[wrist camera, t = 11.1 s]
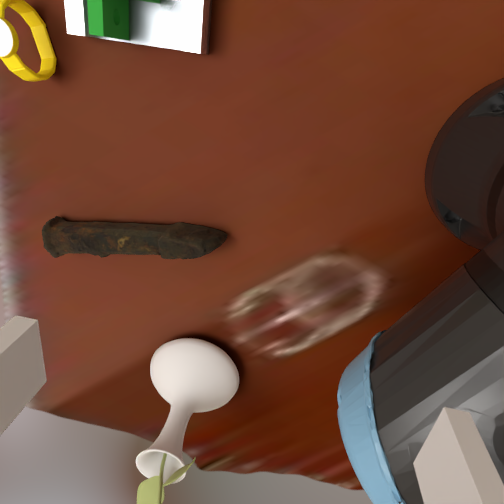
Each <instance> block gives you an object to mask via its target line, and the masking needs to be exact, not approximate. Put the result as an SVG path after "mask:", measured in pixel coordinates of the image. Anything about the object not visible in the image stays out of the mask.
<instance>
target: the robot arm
mask: <svg viewBox="0 0 504 504" xmlns="http://www.w3.org/2000/svg"><path fill="white" fill-rule="evenodd" d="M425 188H426V194H427V198H428V201H429V204H430V206H431V208H432V210H433V212H434V214H435V215H436V217H437V218H438V219H439V220H440V222H441V223H442V224H443V225H444V226H445V227H446V228H447V229H448V230H449V231H450V232H451V233H452V234H453V235H454V236H455V237H457V238H458V239H460V240H461V241H463V242H464V243H466V244H468V245H470V246H472V247H474V248H477V249H480V250H481V251H480V252H478V253H477V254H476V255H475V256H474V257H473V258H471V259H470V260H469V261H468V262H467V263H465V264H463V265H462V266H461V267H460V268H459V269H457V270H456V271H455V272H454V273H453V274H452V275H450V276H449V277H448V278H447V279H446V280H445V281H443V282H442V283H441V284H440V285H439V286H438V287H436V288H435V289H434V290H433V291H432V292H431V293H430V294H428V295H427V296H426V297H425V298H424V299H423V300H421V301H420V302H419V303H418V304H417V305H416V306H414V307H413V308H412V309H411V310H410V311H409V312H407V313H406V314H405V315H404V316H403V317H402V318H400V319H399V320H398V321H397V322H396V323H395V324H393V325H392V326H391V327H390V328H389V329H388V330H384V331H382V332H378V333H377V334H376V335H375V336H374V337H373V338H372V340H371V341H370V343H369V345H368V346H367V347H366V348H365V349H364V350H363V351H362V352H361V353H360V354H359V355H358V356H357V357H356V358H355V359H354V360H353V361H352V362H351V363H350V364H349V365H348V366H347V368H346V369H345V371H344V372H343V374H342V377H341V379H340V382H339V386H338V397H337V399H338V404H339V408H338V421H339V426H340V431H341V435H342V439H343V443H344V446H345V449H346V452H347V454H348V457H349V460H350V462H351V464H352V467H353V469H354V471H355V473H356V475H357V477H358V479H359V481H360V483H361V485H362V487H363V488H364V490H365V492H366V493H367V495H368V496H369V498H370V499H371V501H372V502H373V504H504V78H503V79H500V80H498V81H496V82H494V83H492V84H490V85H488V86H487V87H485V88H483V89H482V90H480V91H478V92H477V93H476V94H474V95H473V96H471V97H470V98H469V99H468V100H467V101H465V102H464V103H463V104H462V105H461V106H460V107H459V108H458V109H457V110H456V111H455V112H454V113H453V114H452V115H451V116H450V118H449V119H448V120H447V121H446V123H445V124H444V125H443V127H442V128H441V130H440V132H439V133H438V135H437V137H436V139H435V141H434V143H433V145H432V147H431V150H430V153H429V156H428V160H427V164H426V170H425ZM46 381H47V380H46V373H45V366H44V360H43V353H42V346H41V339H40V332H39V325H38V320H35V319H30V318H25V317H21V316H14V317H13V318H12V319H11V320H10V321H8V322H7V323H6V324H5V325H3V326H2V327H1V328H0V436H1V434H2V433H3V432H4V431H5V430H6V429H7V427H8V426H9V425H10V424H11V423H12V422H13V420H14V419H15V418H16V417H17V416H18V414H19V413H20V412H21V411H22V410H23V408H24V407H25V406H26V405H27V404H28V403H29V401H30V400H31V399H32V398H33V397H34V396H35V394H36V393H37V392H38V391H39V390H40V388H41V387H42V386H43V385H44V384H45V383H46Z"/></svg>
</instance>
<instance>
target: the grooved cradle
mask: <svg viewBox="0 0 504 504" xmlns="http://www.w3.org/2000/svg"><path fill="white" fill-rule="evenodd" d="M64 1H65V13H66V25H67V33H68V34H74V35H81V36H88V37H94V38H101V39H108V40H115V41H121V42H128V43H135V44H141V45H148V46H155V47H161V48H168V49H175V50H182V51H188V52H195V53H202V54H208V55H209V40H210V26H211V11H212V0H160V4H158V3H152V2H145V1H139V0H129V41H128V40H121V39H115V38H109V37H103V36H97V35H91V34H89V25H88V5H87V0H64Z"/></svg>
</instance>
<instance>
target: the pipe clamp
mask: <svg viewBox="0 0 504 504" xmlns="http://www.w3.org/2000/svg"><path fill="white" fill-rule="evenodd" d="M139 1H145V2H152V3H158V4H160V0H139ZM87 5H88V25H89V34H91V35H97V36H103V37H109V38H115V39H121V40H128V41H129V0H87Z"/></svg>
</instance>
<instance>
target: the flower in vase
mask: <svg viewBox="0 0 504 504" xmlns="http://www.w3.org/2000/svg"><path fill="white" fill-rule="evenodd" d="M150 374H151V379H152V382H153V384H154V386H155V387H156V389H157V391H158V392H159V393H160V395H161V396H162V397H163V398H164V399H165V400H166V401H167V402H169V403H170V404H171V410H170V414H169V417H168V419H167V421H166V424H165V426H164V428H163V430H162V431H161V433H160V435H159V436H158V438H157V439H156V441H155V442H154V443H153V444H152V445H151V446H150V447H149V448H148V449H146V450H144V451H142V452H141V453H140V454H139V455H138V456H137V458H136V465H137V468H138V469H139V471H140V472H141V473H142V474H143V475H144V476H146V477H147V478H149V479H147V480H145V481H143V482H142V483H141V484H140V485H139V487H138V492H137V504H162V502H163V501H164V486H167V485H169V484H171V483H176V482H179V481H181V480H182V479H183V478H184V477H185V475H186V471H187V470H188V469H189V467H190V466H191V465H192V464H193V462H194V461H195V458H196V457H195V458H194V460H193V461H192V463H190V464H188V465H185V464H184V462H183V458H182V445H183V439H184V434H185V430H186V427H187V424H188V421H189V418H190V416H191V415H192V413H193V412H206V411H211V410H214V409H217V408H219V407H221V406H223V405H225V404H226V403H227V402H229V401H230V399H231V398H232V397H233V396H234V394H235V393H236V391H237V389H238V386H239V374H238V370H237V368H236V366H235V364H234V362H233V361H232V359H231V358H230V357H229V356H228V354H227V353H225V352H224V351H223V350H222V349H221V348H219V347H218V346H216V345H214V344H212V343H210V342H207V341H204V340H200V339H195V338H181V339H176V340H173V341H170V342H167V343H165V344H163V345H162V346H161V347H159V348H158V349H157V350H156V352H155V353H154V355H153V357H152V359H151V365H150ZM163 483H164V484H163Z"/></svg>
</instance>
